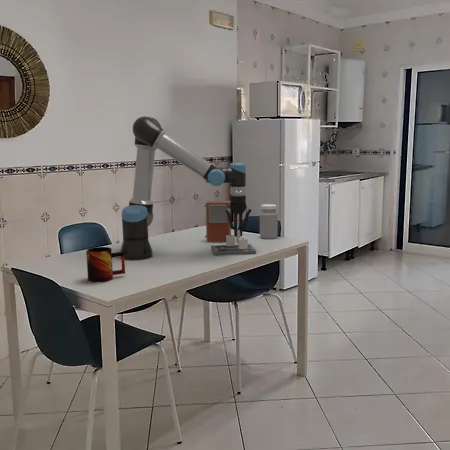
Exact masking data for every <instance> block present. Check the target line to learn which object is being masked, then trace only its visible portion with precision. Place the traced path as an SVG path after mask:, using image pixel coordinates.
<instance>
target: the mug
mask: <svg viewBox="0 0 450 450" xmlns="http://www.w3.org/2000/svg"><path fill="white" fill-rule="evenodd" d="M112 250H113V249H112V248H111V247H108V246H97V247H91V248H90V247H89V248H87V249H86V250H85V252H86V253H85V254H86V266H87V268H86V269H87V281H88V282H89V281H90V282H89V283H94V282H101V283H106V282H110V281H112V280H114V276H116V275H117V276H118V275H125V274H126V267H125V266H126V265H125V259H124V252H119V251H118V252H113V251H112ZM120 257H121V258H120ZM113 258H120V259H121V269H117V270H116V269H115V270H113Z"/></svg>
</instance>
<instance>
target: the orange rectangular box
mask: <svg viewBox="0 0 450 450" xmlns="http://www.w3.org/2000/svg"><path fill="white" fill-rule="evenodd" d="M229 206H230V200H207V201H205V204H204V208H205V224H206V225H205V226H206V227H205V228H206V229H205V230H206V231H205V233H206V234H205V235H204V238H206V243H226V235H232V229H231V227H230V224H229V220H228V216H227V213H226V212H225V210H226V209H228V208H229ZM231 214H232V211H231V210H230V216H232V215H231Z"/></svg>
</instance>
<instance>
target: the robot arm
mask: <svg viewBox="0 0 450 450" xmlns="http://www.w3.org/2000/svg"><path fill="white" fill-rule="evenodd" d="M132 133H133V136H134V143H133V144H134V146H135V147H136V157H135V158H136V159H135V167H134V168H135V171H134V181H133V193H132V198H131V199H129V201H128V202H129V203H128V205H127V206H124V207H123V208H122V211H121V224H122V244H121V247H120V252H124V261H125V260H126V261H127V260H128V261H140V260H145V259H150V258H152V257H153V255H154V253H153V252H154V251H153V248H152V245H151V243H150V241H149V227H150V225H151V224H152V222H153V221H154V212H153V211H154V209H153V208H154V202H153V200H151V199H152V187H153V179H154V168H155V159H156V157H155V155H156V151H157V150H160V151H161V152H162V153H164V154H166V155H167V156H168V157H170V158H172V159H173V160H174V161H177V162H178V163H180V164H181V165H182V166H184V167H185V168H187V169H188V170H190V171H191V172H193V173H195V174H196V175H197V176H199V177H200V178H202V179H203V180H205V183H206V184H210V185H211V186H214V187H219V186H221V185H223V184H229V185H230V186H229V188H230V189H229V193H230V200H229V201H230V206H229V208H228V209H226V210H225V212H226V213H227V216H228V220H229V224H230V227H231V230H233V235H234V236H235V243H236V244H238V238H241V237H242V236H243V230H245V229H247V225H248V221H249V217H250V214H251V213H252V209H251V208H249V207H248V206H247V197H246V194H247V193H246V192H247V191H246V190H247V189H246V187H247V185H246V183H247V182H246V181H247V180H246V179H247V175H246V174H247V173H246V170H247V169H246V164H245V163H244V162H231V163H230V164H229V166H228V167H221V166H220V167H216V166H215V165H213V164H212V163H211V162H209V161H208V160H206V159H204V158H203V157H202V156H200V155H199V154H197V153H195V152H194V151H192V150H191V149H190V148H188V147H186V146H185V145H183V144H182V143H181V142H179V141H177V140H176V139H174V138H173V137H171V136H170V135H168V134H167V133H166V131H165V129H163V128H162V125H161V123H160V122H159V121H158V119H156V118H155V117H152V116H145V115H144V116H141V117H138V118H136V120H134V122H133V124H132ZM230 210H231V213H232V214H233V220H232V217H231V216H232V215H231V216H230ZM244 212H245V216H244ZM243 216H244V220H243ZM238 221H239V222H238ZM238 224H239V225H238ZM238 226H239V227H238ZM119 258H120V259H121V257H119Z"/></svg>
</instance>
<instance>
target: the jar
mask: <svg viewBox="0 0 450 450" xmlns="http://www.w3.org/2000/svg"><path fill="white" fill-rule="evenodd" d="M278 215H279V213H278V212H277V205H276V204H272V203H263V204H260V213H259V236H260V238H261V239H262V238H264V239H263V240H274V239H277V238H278V235H279V232H278V229H279V226H278V225H279V224H278V223H279V221H278Z"/></svg>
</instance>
